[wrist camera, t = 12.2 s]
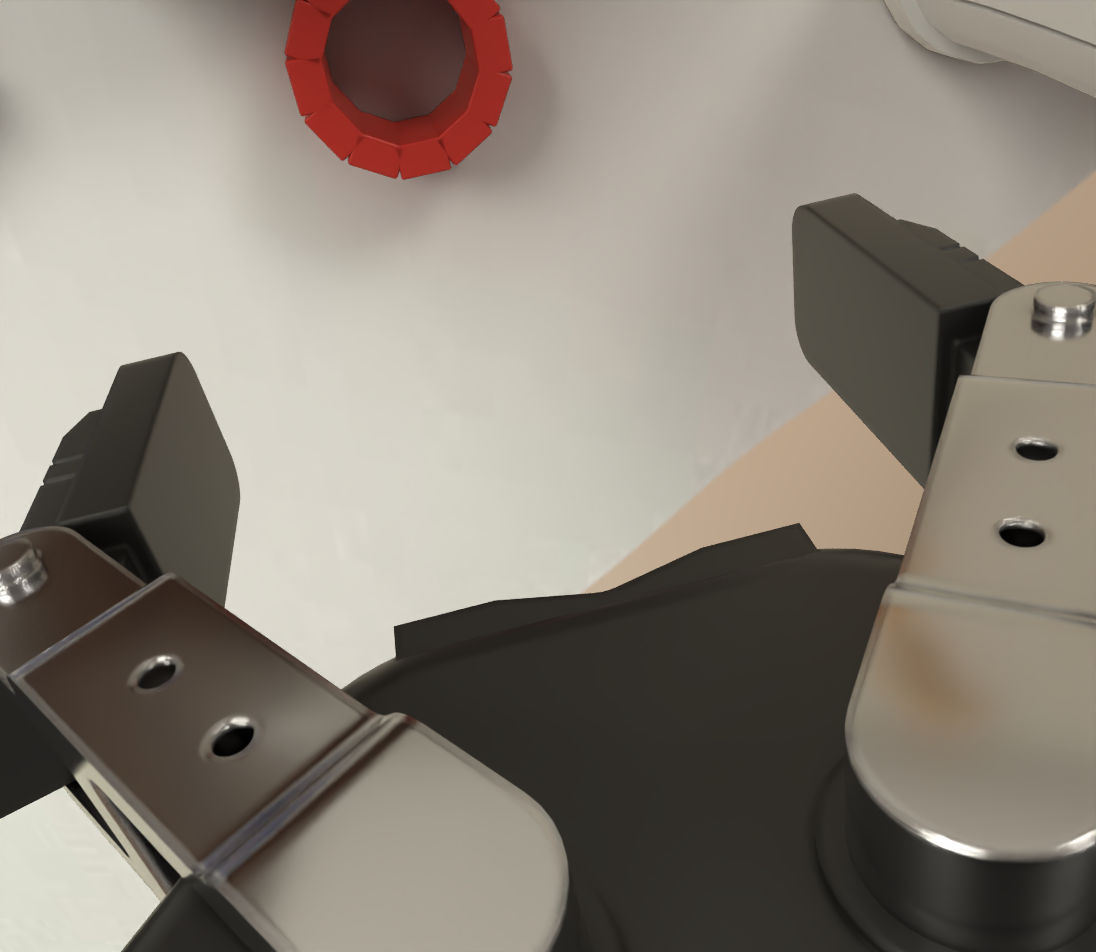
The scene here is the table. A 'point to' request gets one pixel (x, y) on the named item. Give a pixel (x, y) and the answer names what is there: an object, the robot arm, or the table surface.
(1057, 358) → the robot arm
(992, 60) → the cup
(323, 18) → the ring
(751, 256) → the table surface
